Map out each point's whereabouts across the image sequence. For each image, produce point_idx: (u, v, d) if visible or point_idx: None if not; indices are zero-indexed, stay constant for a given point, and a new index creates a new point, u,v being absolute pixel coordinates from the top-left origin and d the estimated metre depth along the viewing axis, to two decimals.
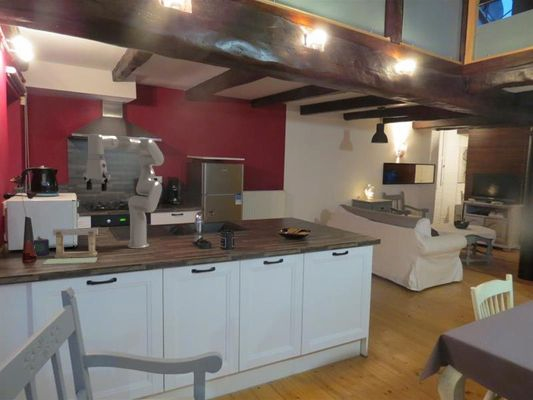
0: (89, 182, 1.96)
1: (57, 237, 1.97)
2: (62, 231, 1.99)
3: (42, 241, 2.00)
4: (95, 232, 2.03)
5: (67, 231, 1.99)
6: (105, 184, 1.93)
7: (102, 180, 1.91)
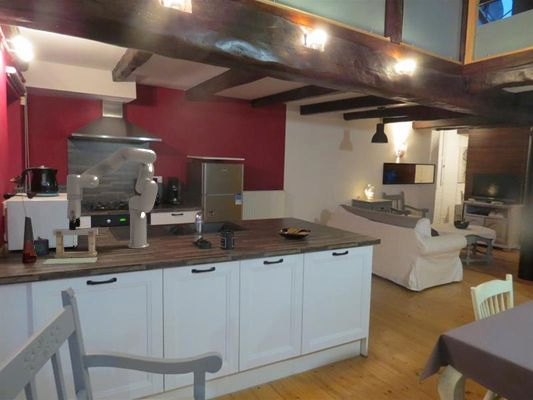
0: None
1: (57, 237, 1.97)
2: (62, 231, 1.99)
3: (42, 241, 2.00)
4: (95, 232, 2.03)
5: (67, 231, 1.99)
6: None
7: (79, 217, 2.06)
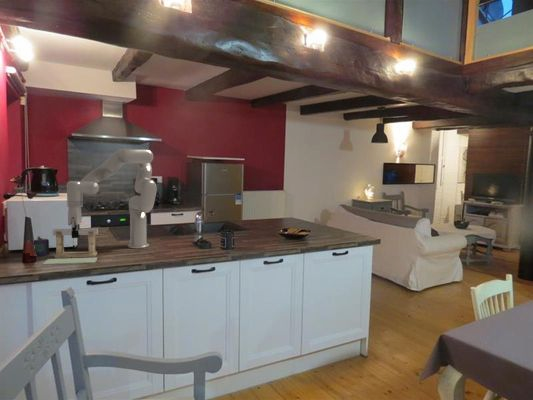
0: None
1: (57, 237, 1.97)
2: (62, 231, 1.99)
3: (42, 241, 2.00)
4: (95, 232, 2.03)
5: (67, 231, 1.99)
6: None
7: (79, 226, 2.05)
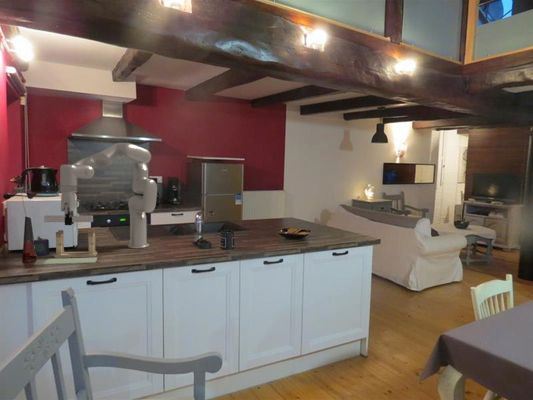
0: None
1: (57, 237, 1.97)
2: (54, 217, 1.86)
3: (42, 241, 2.00)
4: (90, 219, 1.91)
5: (60, 218, 1.87)
6: None
7: (73, 213, 1.92)
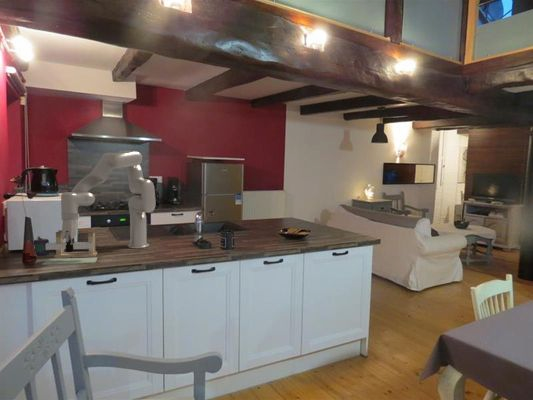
0: None
1: (57, 237, 1.97)
2: (56, 245, 1.88)
3: (42, 241, 2.00)
4: (91, 246, 1.92)
5: (61, 245, 1.89)
6: None
7: (74, 239, 1.94)
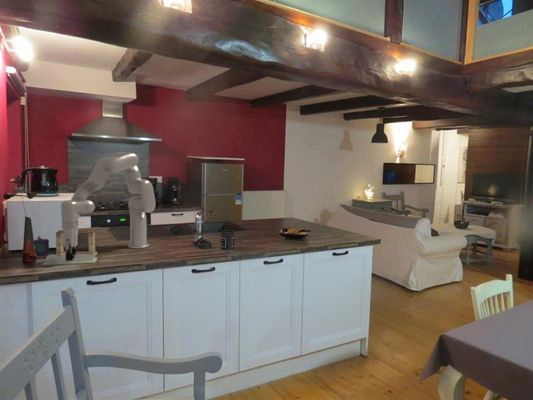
0: None
1: (57, 237, 1.97)
2: (56, 257, 1.89)
3: (42, 241, 2.00)
4: (91, 258, 1.93)
5: (62, 257, 1.90)
6: None
7: (75, 246, 1.96)
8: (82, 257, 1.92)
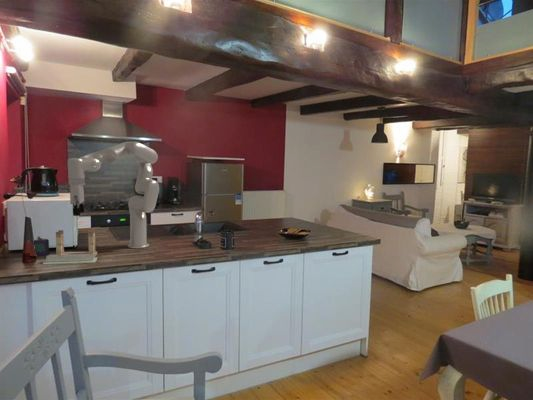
0: None
1: (57, 237, 1.97)
2: (56, 257, 1.89)
3: (42, 241, 2.00)
4: (91, 258, 1.93)
5: (62, 257, 1.90)
6: None
7: None
8: (82, 257, 1.92)
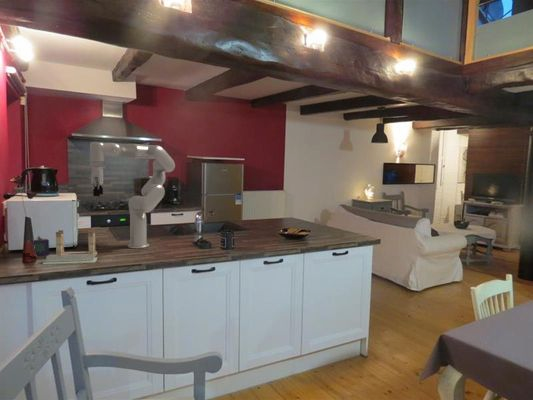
0: None
1: (57, 237, 1.97)
2: (56, 257, 1.89)
3: (42, 241, 2.00)
4: (91, 258, 1.93)
5: (62, 257, 1.90)
6: None
7: None
8: (82, 257, 1.92)
